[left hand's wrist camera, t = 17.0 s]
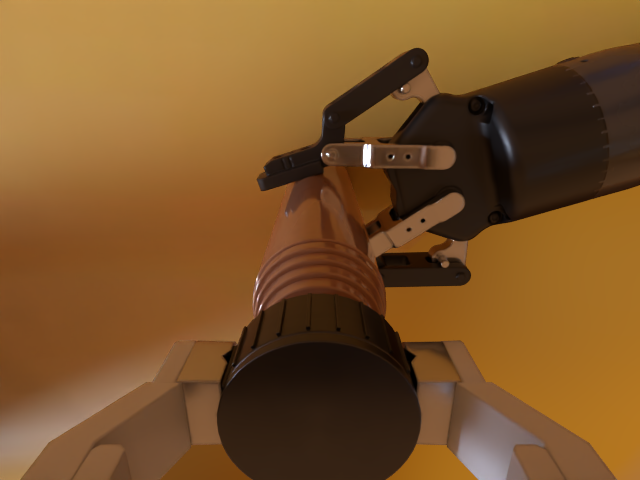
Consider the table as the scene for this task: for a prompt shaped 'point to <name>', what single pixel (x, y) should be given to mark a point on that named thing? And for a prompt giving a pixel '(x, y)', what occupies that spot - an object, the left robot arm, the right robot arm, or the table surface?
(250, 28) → the table surface
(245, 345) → the cap
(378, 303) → the bottle
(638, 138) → the right robot arm
